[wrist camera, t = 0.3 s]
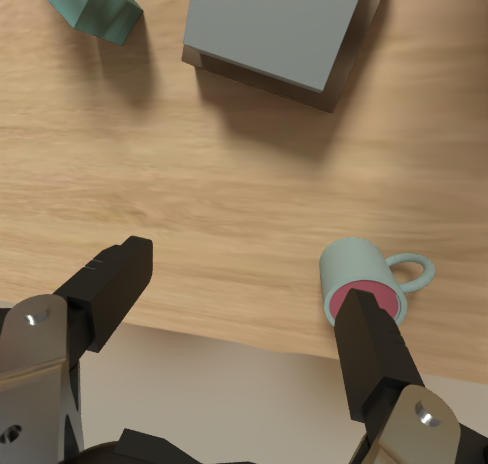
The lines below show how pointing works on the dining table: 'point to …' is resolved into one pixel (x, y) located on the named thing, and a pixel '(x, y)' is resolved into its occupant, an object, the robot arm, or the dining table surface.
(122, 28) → the teal pillar
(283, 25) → the tower top slab
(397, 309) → the mug
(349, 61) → the tower base slab
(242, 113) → the dining table surface
